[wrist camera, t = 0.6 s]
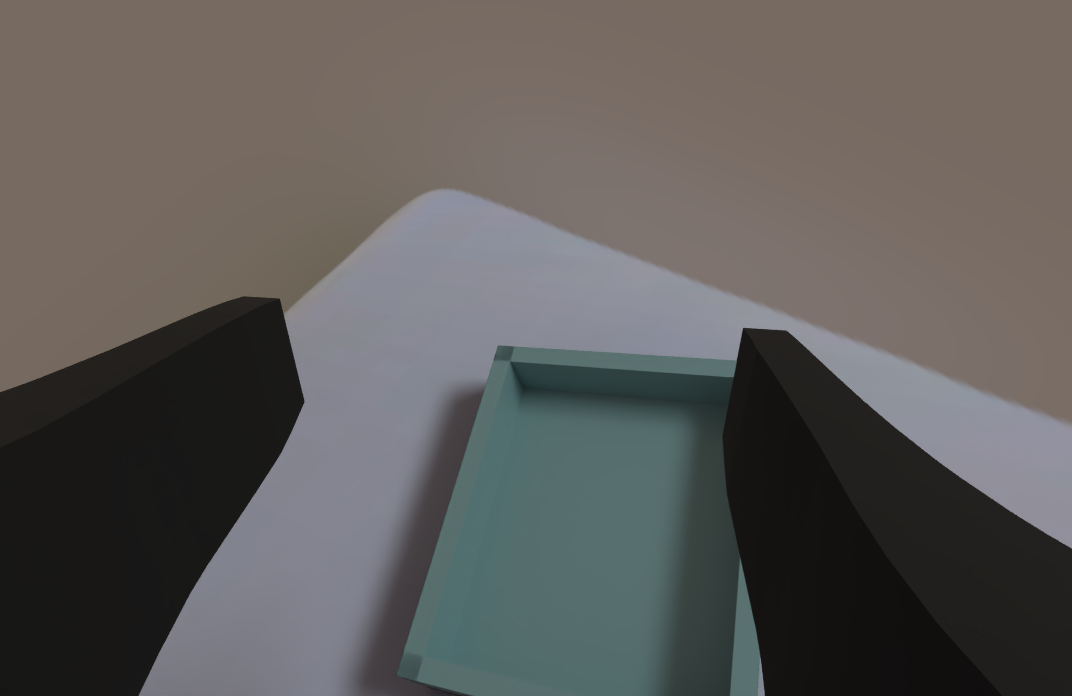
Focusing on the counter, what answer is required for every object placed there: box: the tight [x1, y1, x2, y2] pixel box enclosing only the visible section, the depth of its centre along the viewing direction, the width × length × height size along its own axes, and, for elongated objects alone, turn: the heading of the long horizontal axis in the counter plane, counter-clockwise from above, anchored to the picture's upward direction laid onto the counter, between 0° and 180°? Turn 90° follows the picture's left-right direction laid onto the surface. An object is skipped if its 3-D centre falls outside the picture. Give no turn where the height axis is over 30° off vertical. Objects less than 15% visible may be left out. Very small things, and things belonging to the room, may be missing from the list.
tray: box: [396, 346, 760, 696], centre depth 26 cm, size 14×12×3 cm
